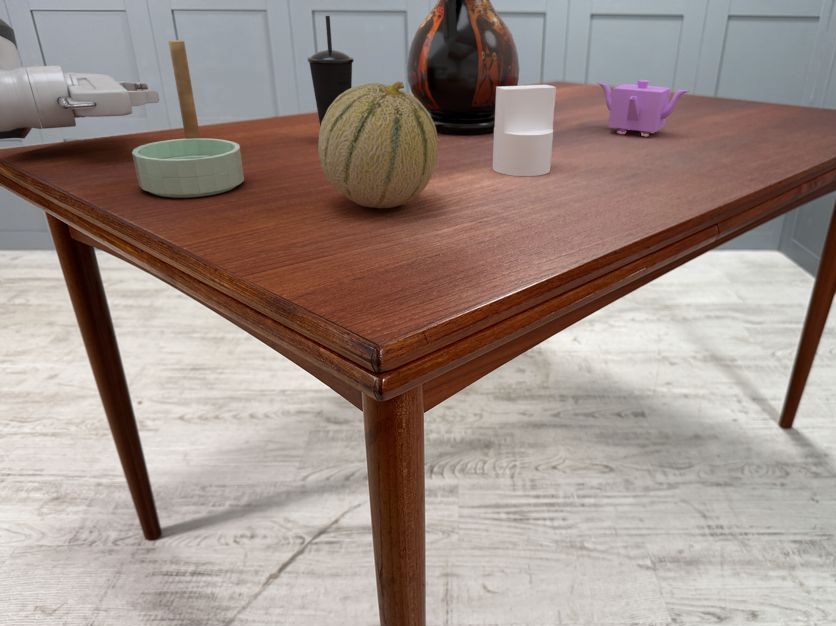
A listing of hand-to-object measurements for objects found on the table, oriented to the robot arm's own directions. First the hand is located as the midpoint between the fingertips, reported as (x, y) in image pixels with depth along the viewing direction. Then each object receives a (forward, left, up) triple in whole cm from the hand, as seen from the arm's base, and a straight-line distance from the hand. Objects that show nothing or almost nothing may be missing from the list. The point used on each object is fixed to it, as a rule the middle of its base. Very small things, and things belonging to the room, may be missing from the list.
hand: (152, 92), depth 109 cm
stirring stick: (+5, +1, -9) cm, 10 cm away
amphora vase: (+55, +5, -9) cm, 56 cm away
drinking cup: (+29, -3, -9) cm, 30 cm away
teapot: (+87, -7, -9) cm, 87 cm away
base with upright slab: (+54, -29, -9) cm, 62 cm away
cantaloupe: (+29, -43, -9) cm, 52 cm away
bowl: (+6, -28, -9) cm, 29 cm away
